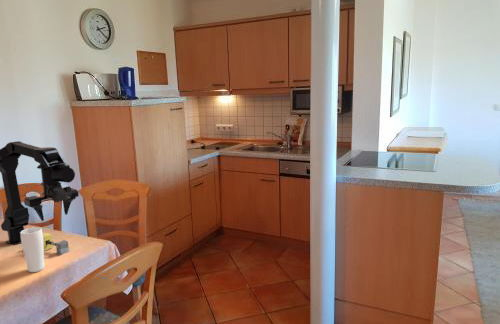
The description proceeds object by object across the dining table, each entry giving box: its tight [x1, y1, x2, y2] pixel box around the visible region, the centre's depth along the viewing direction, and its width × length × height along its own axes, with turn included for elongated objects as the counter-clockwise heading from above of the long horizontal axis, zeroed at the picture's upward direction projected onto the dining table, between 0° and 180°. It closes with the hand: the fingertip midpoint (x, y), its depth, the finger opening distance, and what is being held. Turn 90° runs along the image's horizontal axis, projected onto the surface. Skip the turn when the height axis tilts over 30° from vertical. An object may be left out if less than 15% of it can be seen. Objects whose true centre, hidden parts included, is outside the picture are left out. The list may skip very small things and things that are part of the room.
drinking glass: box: [20, 226, 45, 273], centre depth 131 cm, size 7×7×15 cm
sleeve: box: [42, 232, 54, 252], centre depth 149 cm, size 4×4×6 cm
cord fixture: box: [45, 239, 70, 256], centre depth 148 cm, size 18×6×4 cm, turn 68°
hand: (54, 217), depth 146 cm, fingers open, 9 cm apart
